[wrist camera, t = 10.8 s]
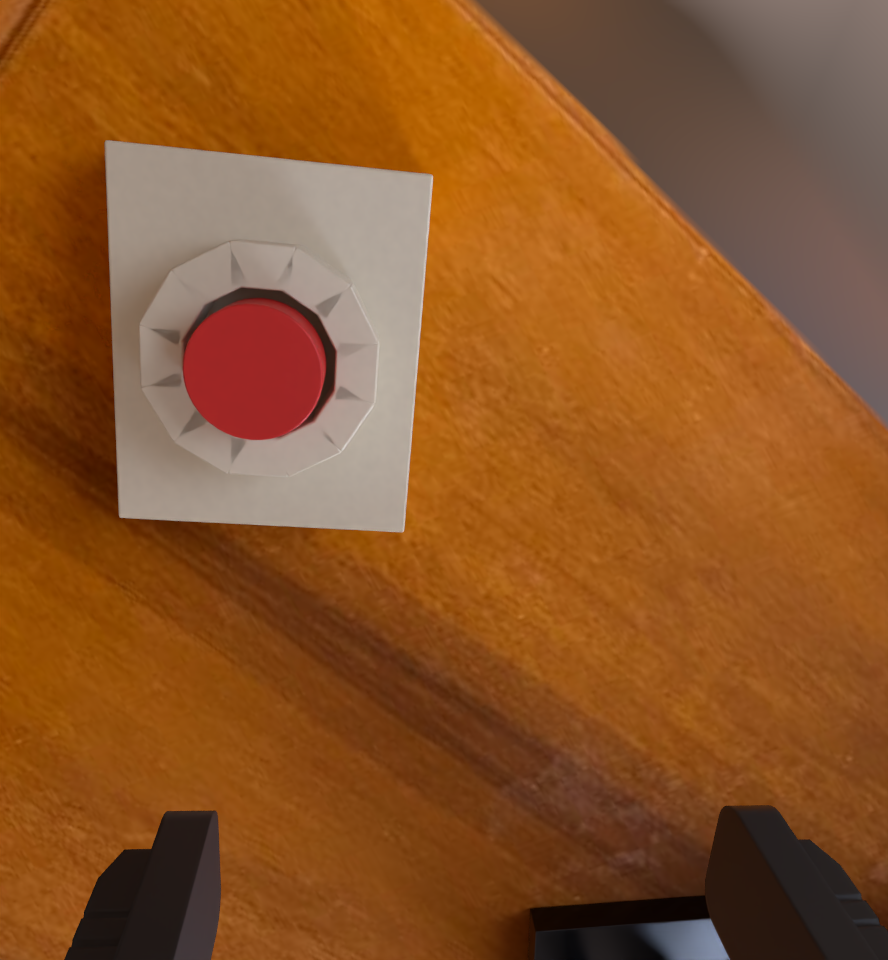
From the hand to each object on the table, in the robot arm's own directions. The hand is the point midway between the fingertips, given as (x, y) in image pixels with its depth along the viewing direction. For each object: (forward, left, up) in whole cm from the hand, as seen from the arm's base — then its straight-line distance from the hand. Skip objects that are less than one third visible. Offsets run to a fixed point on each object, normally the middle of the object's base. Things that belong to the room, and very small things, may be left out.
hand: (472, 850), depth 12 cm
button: (-2, -7, -12) cm, 14 cm away
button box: (-2, -7, -16) cm, 18 cm away
